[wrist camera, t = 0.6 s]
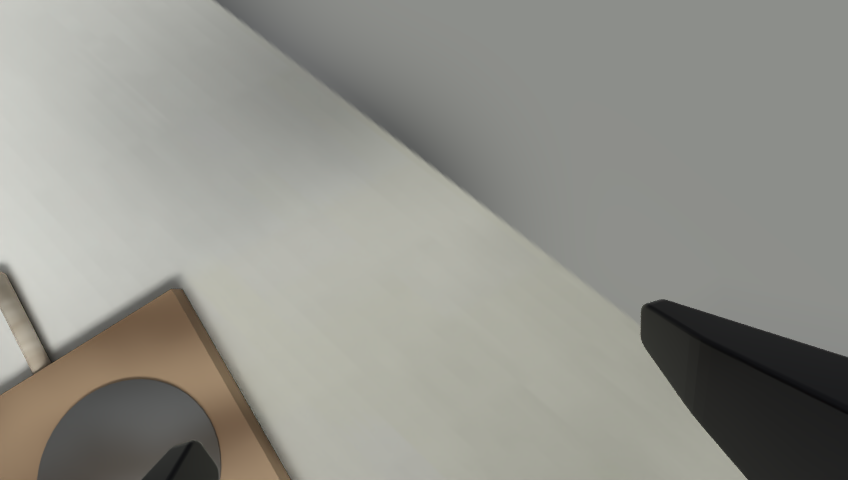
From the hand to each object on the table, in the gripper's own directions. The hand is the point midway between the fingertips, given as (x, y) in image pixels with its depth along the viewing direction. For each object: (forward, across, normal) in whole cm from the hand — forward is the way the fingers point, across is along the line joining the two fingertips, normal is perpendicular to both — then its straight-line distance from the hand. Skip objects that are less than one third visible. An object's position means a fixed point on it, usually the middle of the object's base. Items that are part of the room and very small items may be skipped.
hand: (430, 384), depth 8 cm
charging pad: (+12, +17, +8) cm, 22 cm away
